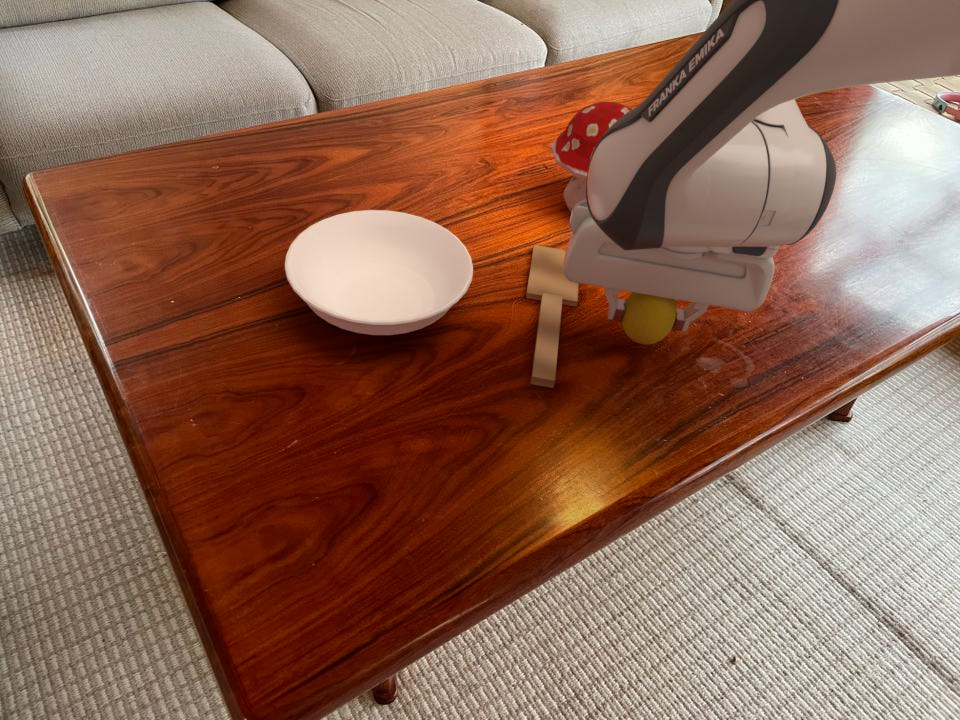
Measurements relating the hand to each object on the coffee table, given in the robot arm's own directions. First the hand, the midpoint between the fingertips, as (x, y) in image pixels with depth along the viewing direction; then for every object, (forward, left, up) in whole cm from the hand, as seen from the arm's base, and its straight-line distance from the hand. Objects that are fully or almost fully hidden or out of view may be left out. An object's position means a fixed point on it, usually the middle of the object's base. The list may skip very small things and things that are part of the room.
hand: (646, 322), depth 78 cm
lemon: (0, 0, -3) cm, 3 cm away
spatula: (+4, +10, -4) cm, 12 cm away
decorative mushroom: (+28, +6, -5) cm, 29 cm away
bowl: (0, +29, -5) cm, 29 cm away
